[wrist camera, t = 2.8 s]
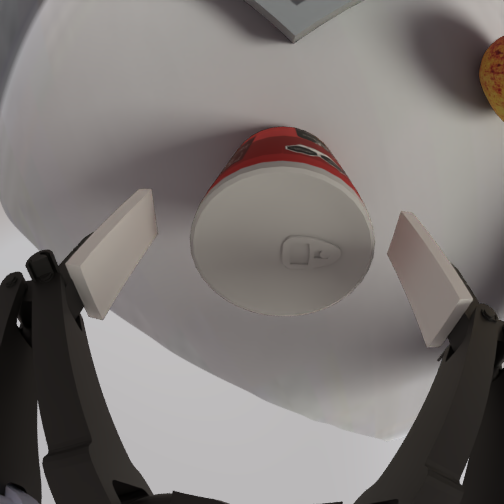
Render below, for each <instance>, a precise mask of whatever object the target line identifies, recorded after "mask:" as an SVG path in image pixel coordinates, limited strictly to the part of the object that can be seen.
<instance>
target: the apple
mask: <svg viewBox="0 0 504 504" xmlns="http://www.w3.org/2000/svg"><path fill="white" fill-rule="evenodd" d="M479 78H480V83H481V86H482V89H483V91H484V94H485V96H486V97H487V99H488V101H489V103H490V105H491V107H492V108H493V110H494V111H495V113H496V114H497V115H498V116H499V117H500V118H501V119H502V121H503V122H504V36H502V37H500V38H499V39H497V40H496V41H495V42H494V43H492V44H491V46H490V47H489V48H488V49H487V51H486V52H485V53H484V55H483V57H482V61H481V66H480V70H479Z"/></svg>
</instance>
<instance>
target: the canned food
mask: <svg viewBox="0 0 504 504" xmlns="http://www.w3.org/2000/svg"><path fill="white" fill-rule="evenodd" d="M374 246H375V239H374V232H373V226H372V223H371V219H370V217H369V214H368V212H367V209H366V207H365V205H364V203H363V201H362V200H361V198H360V196H359V194H358V192H357V190H356V189H355V187H354V186H353V184H352V183H351V181H350V180H349V178H348V176H347V175H346V173H345V172H344V170H343V169H342V167H341V166H340V165H339V163H338V162H337V160H336V159H335V157H334V156H333V154H332V153H331V152H330V150H329V149H328V148H327V147H326V145H325V144H324V143H323V142H322V141H321V140H319V139H318V138H317V137H316V136H314V135H312V134H310V133H308V132H306V131H304V130H300V129H297V128H292V127H274V128H269V129H266V130H262V131H260V132H258V133H256V134H254V135H252V136H251V137H250V138H249V139H247V140H246V141H245V142H244V143H243V144H242V145H241V147H240V148H239V149H238V150H237V152H236V153H235V154H234V156H233V157H232V158H231V160H230V161H229V162H228V164H227V165H226V167H225V168H224V169H223V171H222V172H221V173H220V175H219V176H218V178H217V179H216V180H215V182H214V183H213V185H212V186H211V187H210V189H209V190H208V192H207V193H206V196H205V197H204V199H203V200H202V202H201V203H200V205H199V208H198V210H197V213H196V215H195V217H194V221H193V223H192V228H191V234H190V247H191V254H192V257H193V260H194V263H195V266H196V268H197V270H198V272H199V273H200V275H201V277H202V278H203V280H204V281H205V282H206V283H207V284H208V285H209V286H210V288H211V289H212V290H213V291H215V292H216V293H217V294H218V295H220V296H221V297H222V298H223V299H225V300H227V301H229V302H230V303H232V304H234V305H236V306H238V307H240V308H243V309H245V310H248V311H251V312H255V313H259V314H263V315H271V316H298V315H304V314H310V313H313V312H317V311H320V310H323V309H326V308H328V307H330V306H332V305H334V304H335V303H337V302H339V301H341V300H342V299H343V298H345V297H346V296H347V295H349V294H350V293H351V292H352V291H353V290H354V289H355V288H356V287H357V286H358V285H359V284H360V283H361V281H362V280H363V278H364V277H365V275H366V273H367V272H368V270H369V267H370V265H371V262H372V259H373V255H374Z"/></svg>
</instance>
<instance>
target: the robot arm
mask: <svg viewBox="0 0 504 504" xmlns="http://www.w3.org/2000/svg"><path fill="white" fill-rule="evenodd" d="M157 235H158V230H157V224H156V217H155V210H154V202H153V195H152V189H139V190H138V191H136V192H135V193H134V194H133V195H132V196H131V197H130V198H129V199H128V200H127V201H125V202H124V203H123V204H122V205H121V206H120V207H119V208H118V209H117V210H116V211H115V212H114V213H113V214H112V215H111V216H110V217H109V218H108V219H107V220H106V221H105V222H104V223H103V224H102V225H101V226H100V227H99V228H98V229H97V230H96V231H95V232H93V233H91V234H89V235H88V236H86V237H85V238H84V239H83V240H82V241H81V242H80V243H79V244H78V246H76V247H75V248H74V249H73V251H71V253H70V254H69V255H68V256H67V257H66V258H65V259H64V260H63V261H62V263H61V264H60V265H59V266H58V265H57V262H56V260H55V257H54V254H53V252H52V251H51V250H42V251H39V252H37V253H35V254H34V255H32V256H31V257H30V258H29V259H28V260H27V262H26V268H27V270H28V272H29V274H30V276H31V278H32V280H31V281H25V279H24V277H23V275H22V273H21V272H14V273H10V274H9V275H8V276H6V278H5V279H4V280H3V281H2V283H1V285H0V504H41V499H42V495H41V477H40V467H39V456H38V439H37V401H38V404H39V409H40V415H41V419H42V424H43V429H44V432H45V437H46V441H47V444H48V450H49V451H48V454H47V455H46V456H45V457H44V458H43V463H42V464H43V469H44V473H45V476H46V479H47V482H48V485H49V487H50V490H51V493H52V495H53V498H54V500H55V502H56V504H228V503H226V502H223V501H219V500H215V499H209V498H204V497H198V496H193V495H189V494H184V493H180V492H175V491H173V493H172V494H170V493H169V494H168V493H167V494H157V495H153V493H152V491H151V490H150V488H149V486H148V485H147V483H146V481H145V480H144V478H143V477H142V475H141V474H140V473H139V471H138V470H137V469H136V468H135V467H134V466H133V464H132V463H131V461H130V459H129V457H128V455H127V453H126V451H125V449H124V446H123V444H122V442H121V440H120V437H119V435H118V433H117V430H116V428H115V426H114V423H113V421H112V418H111V415H110V413H109V410H108V407H107V405H106V402H105V399H104V397H103V393H102V390H101V387H100V384H99V381H98V378H97V374H96V371H95V368H94V364H93V360H92V357H91V353H90V349H89V345H88V340H87V336H86V332H85V327H84V322H83V318H82V316H81V314H80V312H81V311H82V309H83V307H84V308H85V310H86V312H87V314H88V316H89V317H92V318H96V319H100V320H103V319H104V318H105V316H106V314H107V313H108V311H109V309H110V307H111V306H112V304H113V302H114V301H115V299H116V297H117V296H118V294H119V293H120V291H121V289H122V288H123V286H124V284H125V283H126V281H127V280H128V278H129V277H130V275H131V273H132V272H133V270H134V269H135V267H136V266H137V264H138V263H139V261H140V260H141V258H142V257H143V255H144V254H145V252H146V251H147V249H148V248H149V246H150V245H151V243H152V242H153V240H154V239H155V238H156V236H157ZM387 255H388V257H389V259H390V261H391V263H392V265H393V267H394V269H395V271H396V273H397V275H398V278H399V280H400V282H401V284H402V286H403V289H404V291H405V293H406V295H407V298H408V300H409V303H410V305H411V307H412V310H413V312H414V315H415V317H416V320H417V322H418V325H419V327H420V330H421V333H422V335H423V338H424V341H425V344H426V347H427V348H432V347H440V346H441V345H442V344H443V343H444V341H445V340H446V339H447V337H448V339H449V342H450V344H449V346H448V347H447V348H446V349H445V351H444V352H443V353H442V354H441V356H440V357H439V358H438V360H437V361H440V360H441V358H443V359H442V362H441V364H440V367H439V369H438V372H437V375H436V377H435V379H434V382H433V384H432V386H431V389H430V391H429V393H428V395H427V398H426V400H425V402H424V404H423V406H422V408H421V410H420V412H419V414H418V416H417V418H416V420H415V422H414V424H413V426H412V427H411V429H410V431H409V433H408V435H407V436H406V438H405V440H404V441H403V443H402V445H401V447H400V448H399V450H398V451H397V453H396V455H395V456H394V458H393V459H392V461H391V462H390V464H389V465H388V467H387V468H386V470H385V471H384V472H383V474H382V475H381V477H380V478H379V480H378V481H377V482H376V483H375V484H374V485H372V486H371V487H370V488H369V489H367V490H366V491H365V492H364V493H363V494H362V495H361V496H360V497H359V498H358V499H357V500H356V501H355V503H354V504H504V368H503V369H502V363H503V362H504V321H501V320H498V317H497V314H496V313H495V312H494V310H493V309H492V308H491V307H489V306H488V305H486V304H481V303H480V304H479V302H478V301H477V299H476V297H475V296H474V294H473V292H472V291H471V289H470V287H469V286H468V285H467V283H466V281H465V280H464V279H463V276H462V275H461V273H460V272H459V270H458V269H457V268H456V267H455V266H454V265H453V264H451V263H450V262H449V260H448V259H447V257H446V256H445V254H444V253H443V252H442V250H441V249H440V247H439V246H438V245H437V243H436V242H435V241H434V239H433V238H432V237H431V235H430V234H429V233H428V231H427V230H426V229H425V228H424V226H423V225H422V224H421V222H420V221H419V220H418V219H417V218H416V216H415V215H414V214H413V213H410V212H404V211H401V213H400V216H399V220H398V223H397V226H396V229H395V232H394V235H393V238H392V241H391V244H390V247H389V250H388V253H387ZM17 318H18V320H19V321H20V323H21V324H20V327H18V326H17V324H16V323H17ZM468 458H469V460H468ZM467 461H468V465H467V469H466V473H465V477H464V481H463V485H461V484H460V482H459V480H460V477H461V475H462V472H463V470H464V468H465V466H466V463H467ZM342 503H343V502H334V503H325V504H342Z"/></svg>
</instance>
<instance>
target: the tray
mask: <svg viewBox="0 0 504 504" xmlns="http://www.w3.org/2000/svg"><path fill="white" fill-rule="evenodd" d="M244 1H245V2H247V3H248V4H249V5H250V6H252V7H253V8H254V9H255V10H257V11H258V12H259V13H260V14H261V15H263V16H264V17H265V18H266V19H267V20H269V21H270V22H271V23H272V24H273V25H274V26H275V27H276V28H278V29H279V30H280V31H281V32H282V33H283V34H284V35H285V36H286V37H287V38H288V39H289V40H290V41H291V42H292V43H293V44H294V43H295V42H297V41H298V40H299V39H301V38H302V37H304V36H305V35H307V34H308V33H310V32H311V31H313V30H314V29H316V28H317V27H319V26H320V25H322V24H324V23H325V22H327V21H328V20H330V19H332V18H333V17H335V16H337V15H338V14H340V13H342V12H343V11H345V10H347V9H349V8H351V7H352V6H354V5H356V4H358V3H360V2H362V1H364V0H244Z"/></svg>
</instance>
